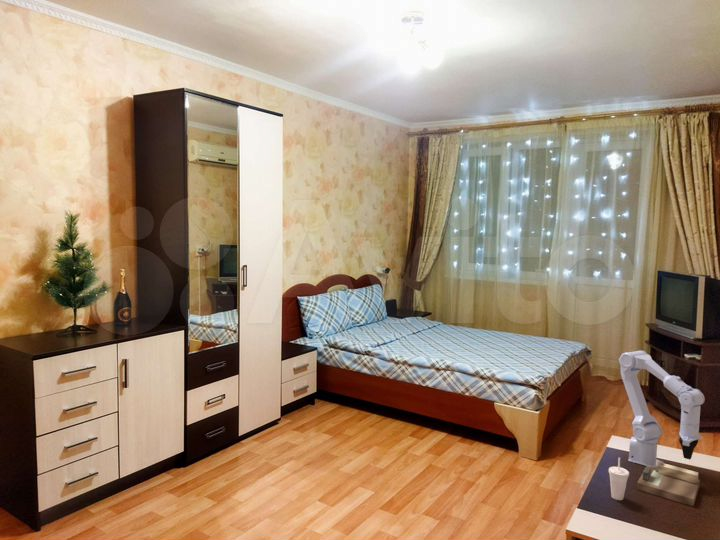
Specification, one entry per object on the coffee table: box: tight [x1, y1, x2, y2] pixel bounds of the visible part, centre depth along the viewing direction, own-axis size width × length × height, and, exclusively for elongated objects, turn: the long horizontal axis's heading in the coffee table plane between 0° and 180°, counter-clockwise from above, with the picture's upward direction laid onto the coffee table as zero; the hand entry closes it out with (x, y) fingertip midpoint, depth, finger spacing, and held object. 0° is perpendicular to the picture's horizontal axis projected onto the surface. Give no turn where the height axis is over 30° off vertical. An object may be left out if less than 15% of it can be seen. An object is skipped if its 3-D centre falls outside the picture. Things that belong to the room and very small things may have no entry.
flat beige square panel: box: [636, 465, 701, 507], centre depth 184 cm, size 17×17×6 cm
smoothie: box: [608, 457, 630, 501], centre depth 177 cm, size 6×6×14 cm
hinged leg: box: [655, 459, 699, 484], centre depth 187 cm, size 13×3×4 cm, turn 50°
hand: (687, 458), depth 189 cm, fingers closed
